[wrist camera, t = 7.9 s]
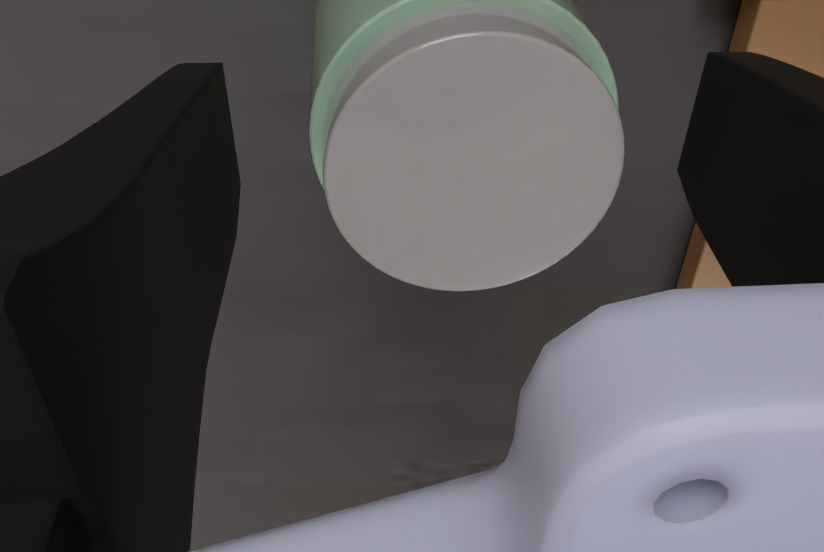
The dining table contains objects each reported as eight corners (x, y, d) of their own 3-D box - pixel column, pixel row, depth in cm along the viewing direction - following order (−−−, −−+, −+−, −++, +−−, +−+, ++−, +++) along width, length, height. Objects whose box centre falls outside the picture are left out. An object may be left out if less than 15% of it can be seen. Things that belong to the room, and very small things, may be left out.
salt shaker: (563, 35, 17) (673, 234, 11) (376, 119, 18) (395, 340, 12) (490, -180, 14) (588, -52, 9) (274, -67, 15) (240, 112, 10)
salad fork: (762, 376, 24) (773, 396, 24) (601, 384, 24) (608, 405, 23) (1092, -394, 13) (1129, -394, 12) (790, -398, 12) (814, -399, 12)
